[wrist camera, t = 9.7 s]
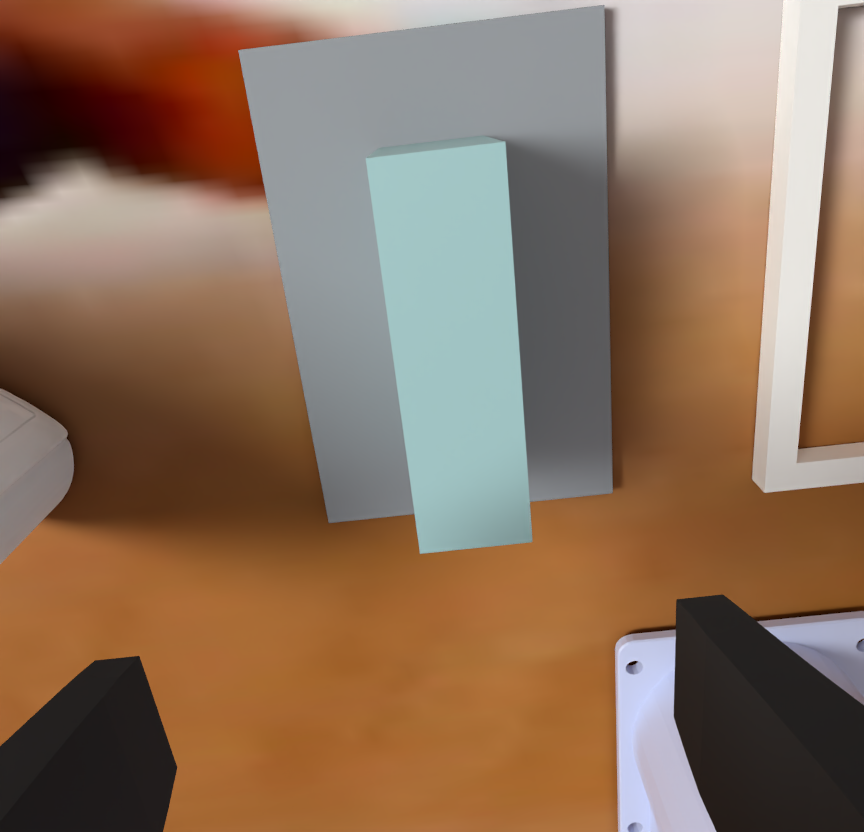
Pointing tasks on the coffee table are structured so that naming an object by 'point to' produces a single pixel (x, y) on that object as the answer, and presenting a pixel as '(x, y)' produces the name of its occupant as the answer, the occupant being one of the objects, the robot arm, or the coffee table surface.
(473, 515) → the pale teal block
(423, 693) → the coffee table surface
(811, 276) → the rack
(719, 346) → the coffee table surface
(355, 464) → the mat
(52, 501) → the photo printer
